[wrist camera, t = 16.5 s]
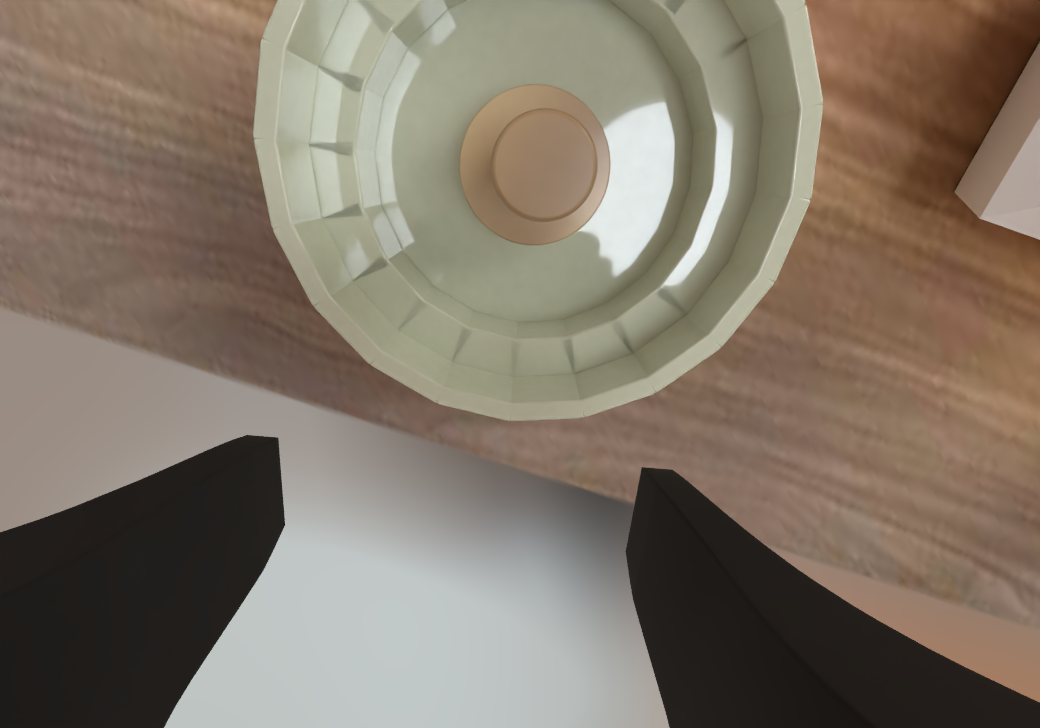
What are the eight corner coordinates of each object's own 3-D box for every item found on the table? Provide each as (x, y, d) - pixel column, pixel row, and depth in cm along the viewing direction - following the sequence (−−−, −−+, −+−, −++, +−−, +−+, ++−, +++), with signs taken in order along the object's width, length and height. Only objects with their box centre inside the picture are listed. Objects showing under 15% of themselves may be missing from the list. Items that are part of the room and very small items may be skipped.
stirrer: (443, 189, 18) (344, 212, 8) (513, 65, 17) (497, -86, 7) (551, 260, 19) (580, 360, 9) (626, 147, 17) (757, 118, 8)
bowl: (258, 231, 19) (171, 252, 14) (461, -204, 15) (431, -378, 10) (582, 426, 22) (598, 497, 17) (832, 101, 17) (946, 75, 13)
